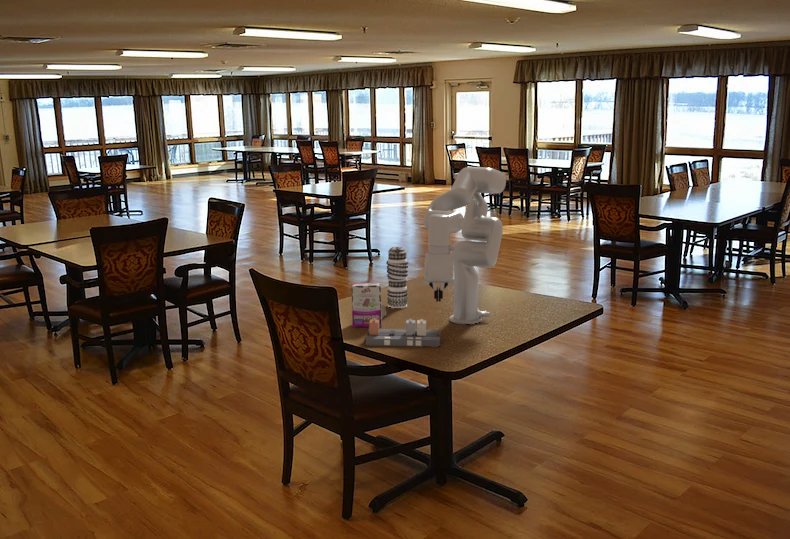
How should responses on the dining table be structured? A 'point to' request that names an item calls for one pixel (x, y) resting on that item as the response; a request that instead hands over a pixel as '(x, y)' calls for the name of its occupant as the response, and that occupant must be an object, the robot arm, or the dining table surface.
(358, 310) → the candy bar box
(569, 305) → the dining table surface
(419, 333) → the slider ivory
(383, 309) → the ceramic mug
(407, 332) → the slider grey
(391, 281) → the decorative candle
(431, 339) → the switch unit
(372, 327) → the slider rust
